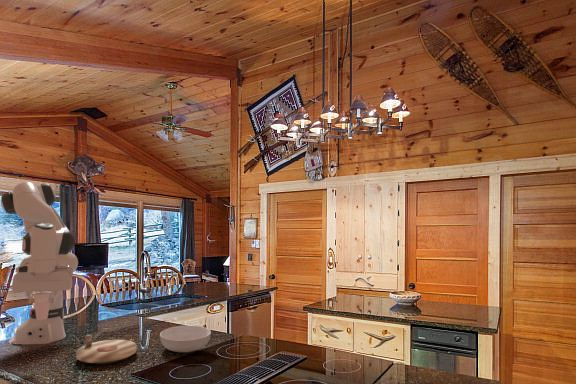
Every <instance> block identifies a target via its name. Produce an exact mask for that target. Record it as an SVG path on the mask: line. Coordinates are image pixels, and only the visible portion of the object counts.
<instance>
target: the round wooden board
mask: <svg viewBox="0 0 576 384" xmlns="http://www.w3.org/2000/svg"><path fill="white" fill-rule="evenodd" d="M84 340H85V341H84V343H85V344H84V345H83V346H81V347H79V348H77V350H76V351H75V358H76V360H78V361H79V362H83V363H86V362H88V363H104V362H111V361H117V360H120V359H124V358H126V359H127V358H129V357H131V356H132V355H134V354H135V353H136V352H137V350H138V349H137V348H138V347H137V343H135V342H134V341H132V340H127V339H106V340H99V341H95V342H93V334H87V335H85V336H84ZM124 360H125V359H124ZM88 363H87V364H88Z"/></svg>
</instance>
